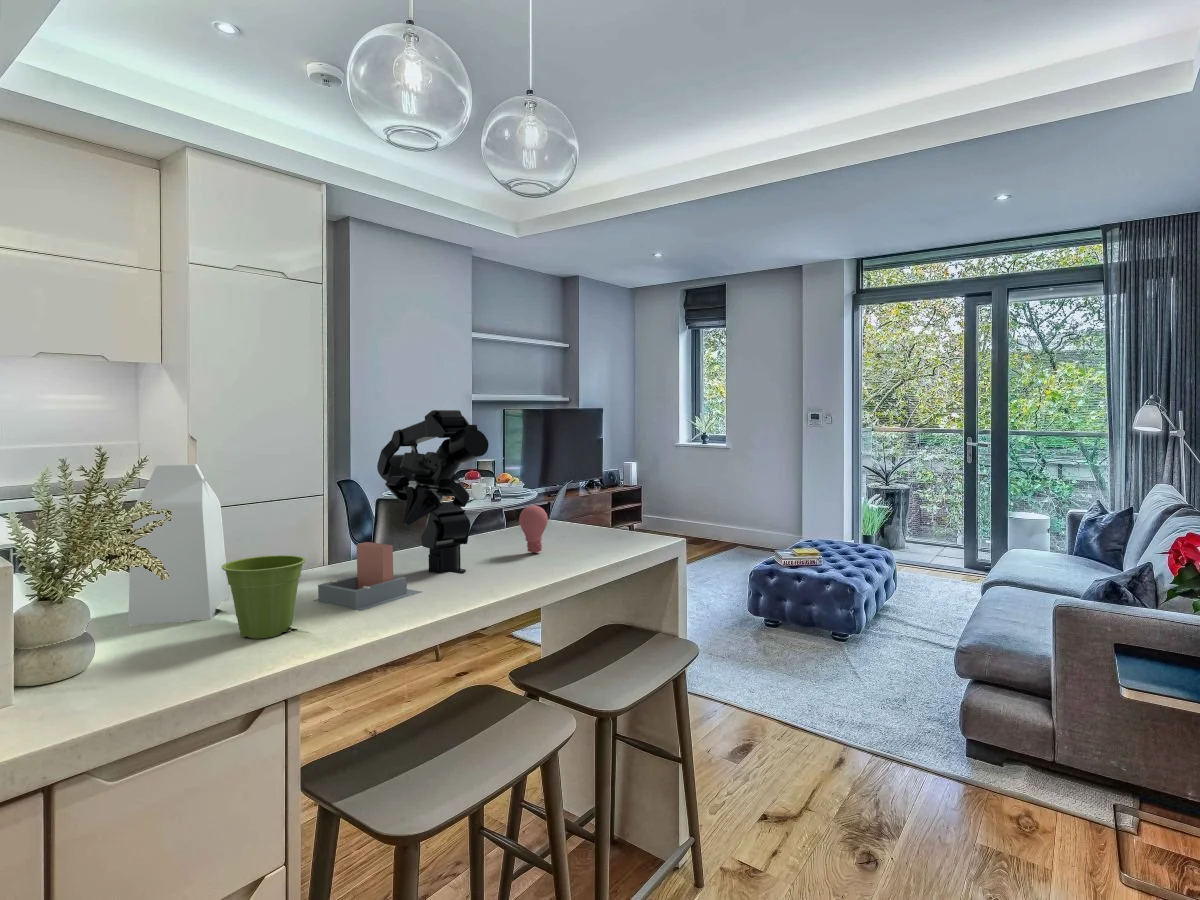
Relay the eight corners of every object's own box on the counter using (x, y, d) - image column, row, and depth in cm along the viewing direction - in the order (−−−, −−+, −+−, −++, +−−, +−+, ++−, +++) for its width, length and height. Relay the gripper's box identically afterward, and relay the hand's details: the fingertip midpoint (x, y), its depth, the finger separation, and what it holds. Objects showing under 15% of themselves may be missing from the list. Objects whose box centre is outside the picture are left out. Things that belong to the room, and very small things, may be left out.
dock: (375, 588, 130) (374, 567, 130) (422, 596, 123) (422, 574, 123) (313, 605, 118) (312, 582, 117) (361, 616, 111) (361, 592, 111)
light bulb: (517, 551, 165) (516, 504, 165) (544, 549, 167) (544, 503, 167) (522, 556, 159) (521, 507, 158) (550, 554, 161) (550, 506, 160)
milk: (128, 625, 107) (122, 467, 106) (155, 606, 118) (150, 463, 117) (210, 619, 110) (205, 466, 109) (229, 601, 121) (225, 461, 120)
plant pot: (320, 630, 104) (319, 560, 103) (240, 650, 95) (238, 574, 94) (289, 616, 112) (287, 551, 111) (212, 633, 103) (210, 562, 102)
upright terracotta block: (371, 587, 125) (370, 541, 125) (397, 592, 122) (396, 544, 121) (357, 591, 122) (356, 544, 122) (383, 596, 119) (382, 547, 118)
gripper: (391, 437, 136) (348, 495, 127) (458, 438, 127) (417, 501, 118) (420, 472, 143) (381, 529, 134) (485, 475, 134) (448, 537, 125)
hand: (405, 524), depth 128 cm, fingers closed
